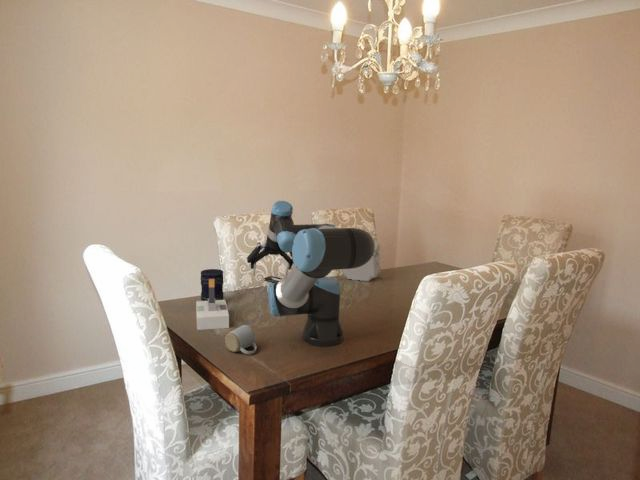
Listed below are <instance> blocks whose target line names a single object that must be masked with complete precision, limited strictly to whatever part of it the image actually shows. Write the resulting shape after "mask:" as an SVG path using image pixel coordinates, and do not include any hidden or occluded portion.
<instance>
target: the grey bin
mask: <svg viewBox="0 0 640 480" xmlns="http://www.w3.org/2000/svg"><path fill="white" fill-rule="evenodd" d="M281 279H283V278H282V277H277V276H272V275H271V276H269V275H268V276H267V277H264V278H263V281H264V282H266V292H267V293H268V286H269V284H273V283H279V281H280V280H281Z"/></svg>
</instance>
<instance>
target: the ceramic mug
mask: <svg viewBox="0 0 640 480" xmlns="http://www.w3.org/2000/svg"><path fill="white" fill-rule="evenodd" d="M255 341H256V335H255V332H254V331H253V329H252V328H251V327H250V326H249V325H247V324H242V325H240V326H239V327H237V328H234V329H233V330H231V331H229V332H228V333H227V334H226V335H225V338H224V342H225V343H224V344H225V346H226V348H227V349H228V350H229V351H230V352H232V353H239V352H241V353H242V354H245V355H249V356H250V355H253V354H255V353H256V351H257V348H258V346H257V344H256V342H255ZM251 346H252V347H253V349H254V350H246V349H247V348H249V347H251Z"/></svg>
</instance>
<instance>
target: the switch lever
mask: <svg viewBox="0 0 640 480" xmlns="http://www.w3.org/2000/svg"><path fill="white" fill-rule="evenodd" d="M209 303H214V279H209Z"/></svg>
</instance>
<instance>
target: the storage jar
mask: <svg viewBox="0 0 640 480" xmlns="http://www.w3.org/2000/svg"><path fill="white" fill-rule="evenodd" d="M209 279H214V298H215V300H224V291H223V290H224V289H223V288H224V286H223V284H224V271H223V270H222V269H217V268H216V269H215V268H209V269H203V270H201V271H200V285H201V292H200V301H208V298H209Z"/></svg>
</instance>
